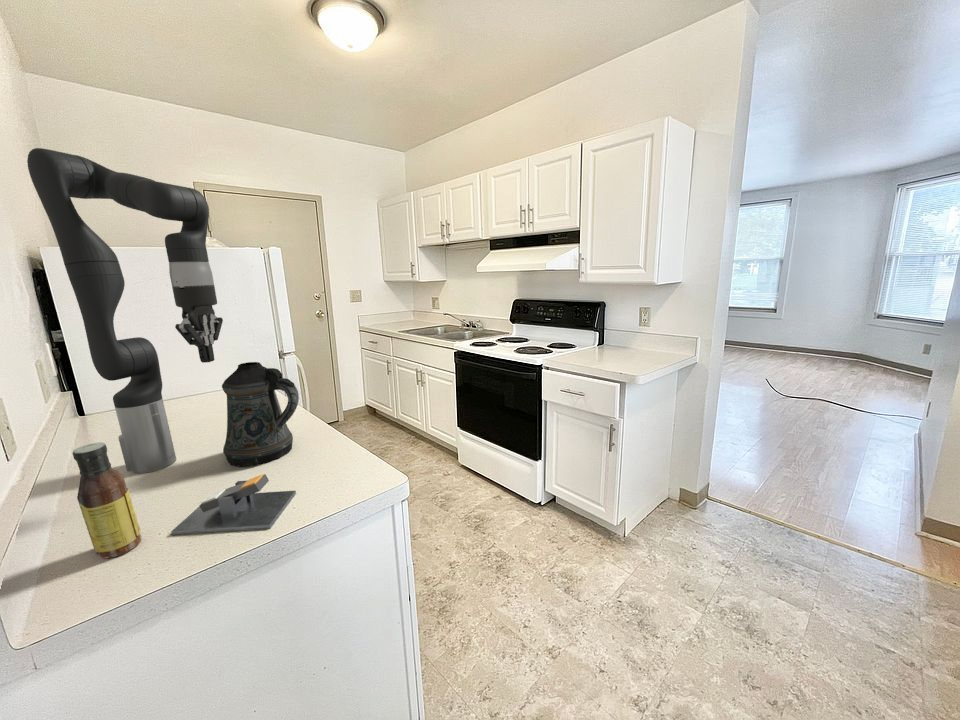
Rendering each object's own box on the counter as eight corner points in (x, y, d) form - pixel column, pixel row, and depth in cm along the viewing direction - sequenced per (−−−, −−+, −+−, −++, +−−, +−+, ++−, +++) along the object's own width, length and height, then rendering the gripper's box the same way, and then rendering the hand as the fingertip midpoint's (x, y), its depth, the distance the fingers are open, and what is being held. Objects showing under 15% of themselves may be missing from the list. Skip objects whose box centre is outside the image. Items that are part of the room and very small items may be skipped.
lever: (203, 512, 77) (198, 504, 77) (215, 500, 81) (211, 493, 81) (259, 491, 77) (254, 483, 76) (269, 480, 81) (264, 472, 80)
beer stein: (228, 449, 111) (211, 362, 105) (303, 434, 119) (291, 353, 114) (222, 474, 96) (202, 375, 91) (307, 455, 105) (294, 363, 99)
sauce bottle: (116, 538, 73) (88, 439, 69) (151, 535, 74) (126, 436, 69) (84, 563, 67) (52, 456, 63) (123, 560, 67) (94, 452, 63)
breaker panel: (172, 535, 73) (166, 510, 72) (211, 499, 85) (207, 477, 84) (270, 528, 74) (265, 503, 73) (296, 493, 86) (292, 472, 85)
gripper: (195, 283, 92) (209, 356, 96) (152, 285, 79) (169, 369, 83) (228, 282, 92) (240, 355, 96) (190, 284, 79) (206, 368, 83)
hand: (207, 361), depth 89 cm, fingers closed
